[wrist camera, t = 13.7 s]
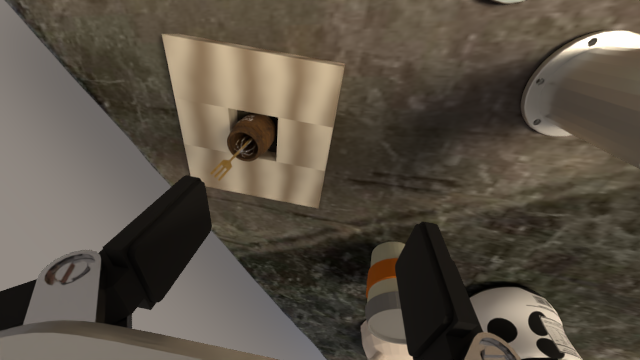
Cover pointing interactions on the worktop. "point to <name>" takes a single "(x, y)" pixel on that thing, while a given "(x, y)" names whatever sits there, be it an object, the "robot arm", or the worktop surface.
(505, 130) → the worktop surface
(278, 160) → the socket board
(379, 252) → the reusable coffee cup
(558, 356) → the milk container
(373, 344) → the kettle
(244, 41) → the worktop surface
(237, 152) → the utensil holder
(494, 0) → the salad plate
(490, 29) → the worktop surface
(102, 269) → the robot arm
